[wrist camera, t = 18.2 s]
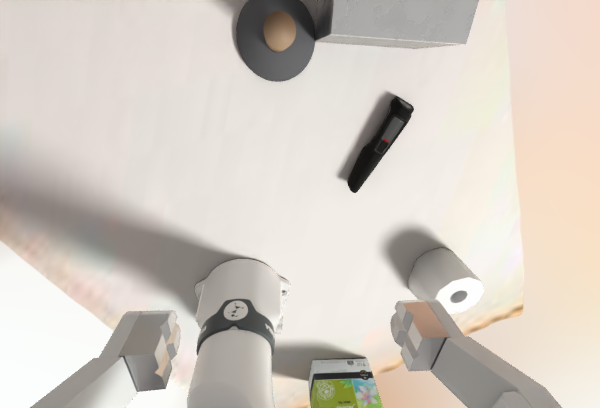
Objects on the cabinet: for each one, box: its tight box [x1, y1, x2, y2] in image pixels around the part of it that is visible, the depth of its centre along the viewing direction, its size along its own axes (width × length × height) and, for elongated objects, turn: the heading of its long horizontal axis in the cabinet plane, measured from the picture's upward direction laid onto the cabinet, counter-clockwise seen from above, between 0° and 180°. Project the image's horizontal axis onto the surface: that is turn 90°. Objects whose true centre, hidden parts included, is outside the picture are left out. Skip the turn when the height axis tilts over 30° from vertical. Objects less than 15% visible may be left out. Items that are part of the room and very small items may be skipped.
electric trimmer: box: [348, 96, 414, 193], centre depth 42 cm, size 4×16×3 cm, turn 152°
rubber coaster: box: [237, 0, 315, 81], centre depth 34 cm, size 10×10×1 cm
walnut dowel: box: [263, 11, 296, 53], centre depth 29 cm, size 3×3×11 cm
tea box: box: [309, 358, 383, 408], centre depth 65 cm, size 15×10×15 cm
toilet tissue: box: [408, 248, 484, 315], centre depth 54 cm, size 9×13×9 cm
